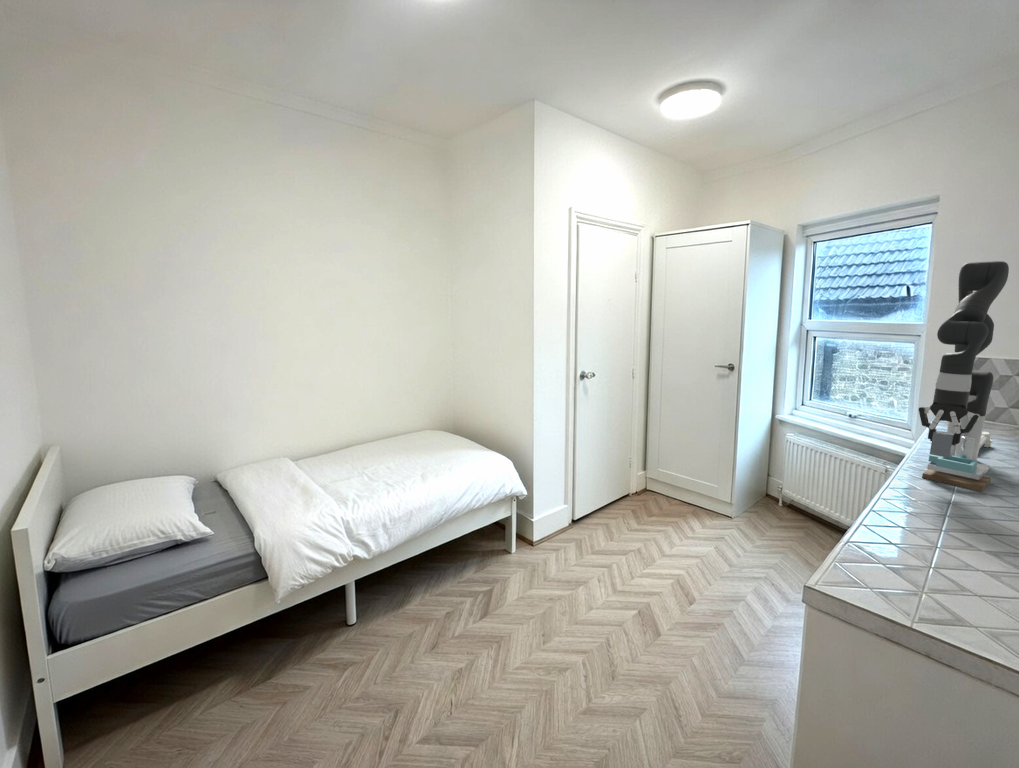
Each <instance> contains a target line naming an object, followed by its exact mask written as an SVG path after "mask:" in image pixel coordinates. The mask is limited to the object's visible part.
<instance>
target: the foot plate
mask: <svg viewBox="0 0 1019 768" xmlns="http://www.w3.org/2000/svg"><path fill="white" fill-rule="evenodd" d="M921 478H923V479H927V480H931V481H934V482H940V483H944V484H949V485H952V486H957V487H961V488H964V489H965V488H966V489H970V490H974V491H978V492H983V491H984V490H985V489H986V488H987V487H988V485H989V484H990V483H991V479H992V477H991V476H986V475H983V476H982V477H981V478H980V479H979V480H977V479H972V478H967V477H963V476H958V475H954V474H949V473H945V472H940V471H935V470H931V469H926V470H924V472H923V473H922V475H921Z"/></svg>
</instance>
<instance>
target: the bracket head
mask: <svg viewBox="0 0 1019 768" xmlns="http://www.w3.org/2000/svg"><path fill="white" fill-rule="evenodd" d="M928 462H929V463H930V462H934V463H936V466H938V467H943V468H948V469H953V470H957V471H962V472H967V473H972V472H973V471H974V470H975V469H976V468H977V463H979V461H978V459H977V460H972V459H967V458H962V457H957V456H951V457H950V458H947V457H942V456H937V455H932V454H929V457H928Z"/></svg>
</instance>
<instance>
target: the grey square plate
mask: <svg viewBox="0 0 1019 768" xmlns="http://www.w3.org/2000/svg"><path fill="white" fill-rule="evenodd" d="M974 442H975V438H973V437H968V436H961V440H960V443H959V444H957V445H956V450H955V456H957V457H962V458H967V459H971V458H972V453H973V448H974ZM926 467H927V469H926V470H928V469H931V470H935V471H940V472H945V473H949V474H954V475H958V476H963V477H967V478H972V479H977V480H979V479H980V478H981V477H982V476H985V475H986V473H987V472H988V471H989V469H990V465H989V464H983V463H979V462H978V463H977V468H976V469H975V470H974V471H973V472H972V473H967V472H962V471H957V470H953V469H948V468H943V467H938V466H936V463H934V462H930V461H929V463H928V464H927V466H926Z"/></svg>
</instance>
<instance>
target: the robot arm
mask: <svg viewBox="0 0 1019 768" xmlns="http://www.w3.org/2000/svg"><path fill="white" fill-rule="evenodd" d="M1009 273H1010V271H1009V264H1008V263H1007V262H1006V261H1002V260H1001V261H1000V260H998V261H997V260H995V261H994V260H992V261H991V260H990V261H973V262H966V263H964V264H963V265H962V266H961V267H960V270H959V273H958V304H957V306H956V307H955V310H954V312H953V314H952V315H951V316H949V317H948V318H947V319H946V320H945V321H943V323H942V324H941V325H940V327H939V328H938V329H937V333H936V334H937V335H936V336H937V339H938V340H939V342H940V343H941V344H944V345H949V346H950V345H953V346H954V352H948V353H944V354H942V356H941V360H940V366H939V367H940V368H939V371H938V372H939V373H938V376H937V379H936V383H935V389H934V393H933V401H932V404H931V405H930V406H920V407H918V412H919V413H918V414H919V418H920V422H921V426H922V427H925V428H928V434H927V439H928V440H929V441H930V442H932V437H933V432H935V431H936V430H937V428H936V427H937V426H938V424H939V423H940V422H941V421H942V422H943V421H947V422H948V424H947V429H946V432H950V433H954V438H953V444H952V445H954V449H953V455H952V456H955V450H956V445H957V444H959V443H960V440H961V436H968V437H973V438H975V442H974V448H973V453H972V458H971V459H972V460H977V461H978V455H979V452H980V449H979V447H980V441H981V436H982V431H983V429H984V424H985V420H986V415H987V414H986V413H987V408H988V403H989V399H990V395H991V392H992V388H993V383H994V375H993V372H991V371H987V370H977V369H976V370H975V369H974V364H975V360H976V357H977V356H978V355H980V354H981V353H982V352H983V351H985V349H987V348H988V347H989V345H991V343H992V341H993V339H994V329H995V323H994V321H993V319H992V317H991V316H990V315H989V314H988V312H989V309H990V307H991V305H992V304H993V302H994V301H995V300H996V299H997V297H998V296H999V295H1000V293H1001V292H1002V290H1003V289H1004V287H1005V285H1006V283H1007V281H1008V278H1009ZM970 396H975V397H976V398H974V399H972V400H970V401H969V398H970ZM930 411H931V412H932V414H933V415H934V417H933V420H932V421H931V423H930V421H929V417H928V414H929V413H930Z"/></svg>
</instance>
